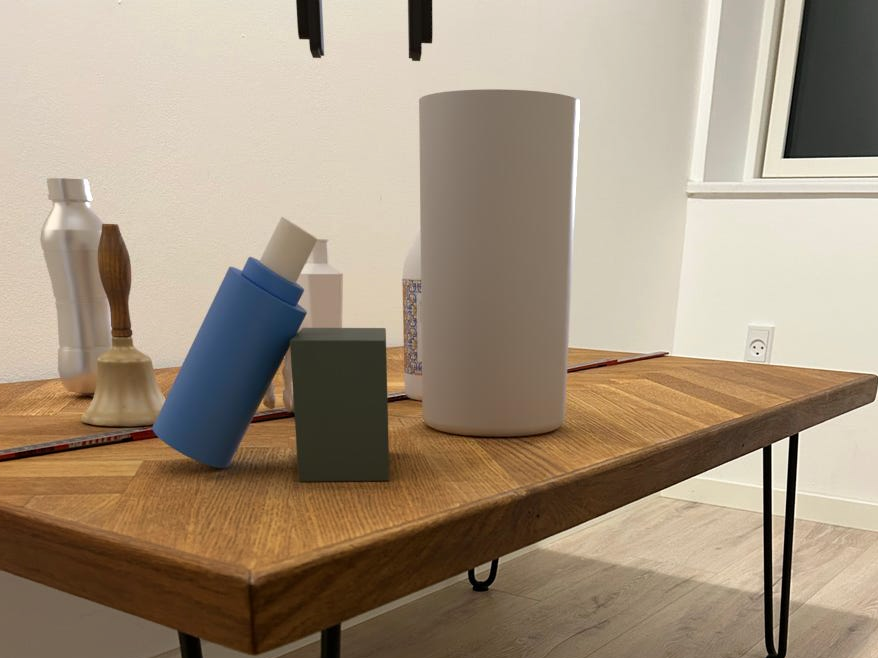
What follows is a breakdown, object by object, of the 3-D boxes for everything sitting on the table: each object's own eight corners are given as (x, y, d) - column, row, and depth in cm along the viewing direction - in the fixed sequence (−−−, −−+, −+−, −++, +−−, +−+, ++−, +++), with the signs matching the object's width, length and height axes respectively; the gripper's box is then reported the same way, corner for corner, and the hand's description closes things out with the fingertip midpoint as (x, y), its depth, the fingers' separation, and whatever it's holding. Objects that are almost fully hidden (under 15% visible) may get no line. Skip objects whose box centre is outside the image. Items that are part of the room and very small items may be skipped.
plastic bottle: (69, 391, 99) (37, 180, 92) (136, 390, 101) (110, 182, 93) (55, 400, 94) (20, 176, 86) (126, 399, 95) (98, 178, 87)
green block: (298, 481, 62) (289, 340, 59) (309, 451, 72) (302, 327, 68) (389, 481, 63) (385, 340, 60) (388, 451, 72) (385, 327, 69)
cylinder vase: (451, 442, 76) (452, 84, 66) (404, 417, 86) (398, 106, 77) (589, 433, 80) (609, 96, 70) (528, 411, 91) (537, 115, 81)
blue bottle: (148, 474, 64) (118, 211, 57) (166, 458, 69) (140, 214, 62) (324, 475, 65) (313, 216, 58) (328, 458, 70) (319, 218, 64)
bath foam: (423, 391, 103) (421, 187, 95) (481, 395, 100) (484, 186, 92) (392, 399, 97) (387, 183, 89) (453, 404, 94) (453, 182, 86)
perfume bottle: (343, 410, 90) (336, 239, 84) (356, 417, 86) (349, 239, 80) (295, 412, 88) (285, 238, 83) (306, 420, 85) (296, 238, 79)
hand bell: (165, 409, 89) (144, 225, 83) (191, 422, 83) (171, 224, 77) (72, 416, 85) (43, 223, 79) (93, 430, 79) (62, 221, 72)
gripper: (504, -288, 55) (498, 70, 62) (204, -307, 54) (233, 62, 60) (521, -365, 48) (512, 48, 55) (178, -389, 47) (213, 39, 54)
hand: (366, 52), depth 58 cm, fingers open, 5 cm apart
